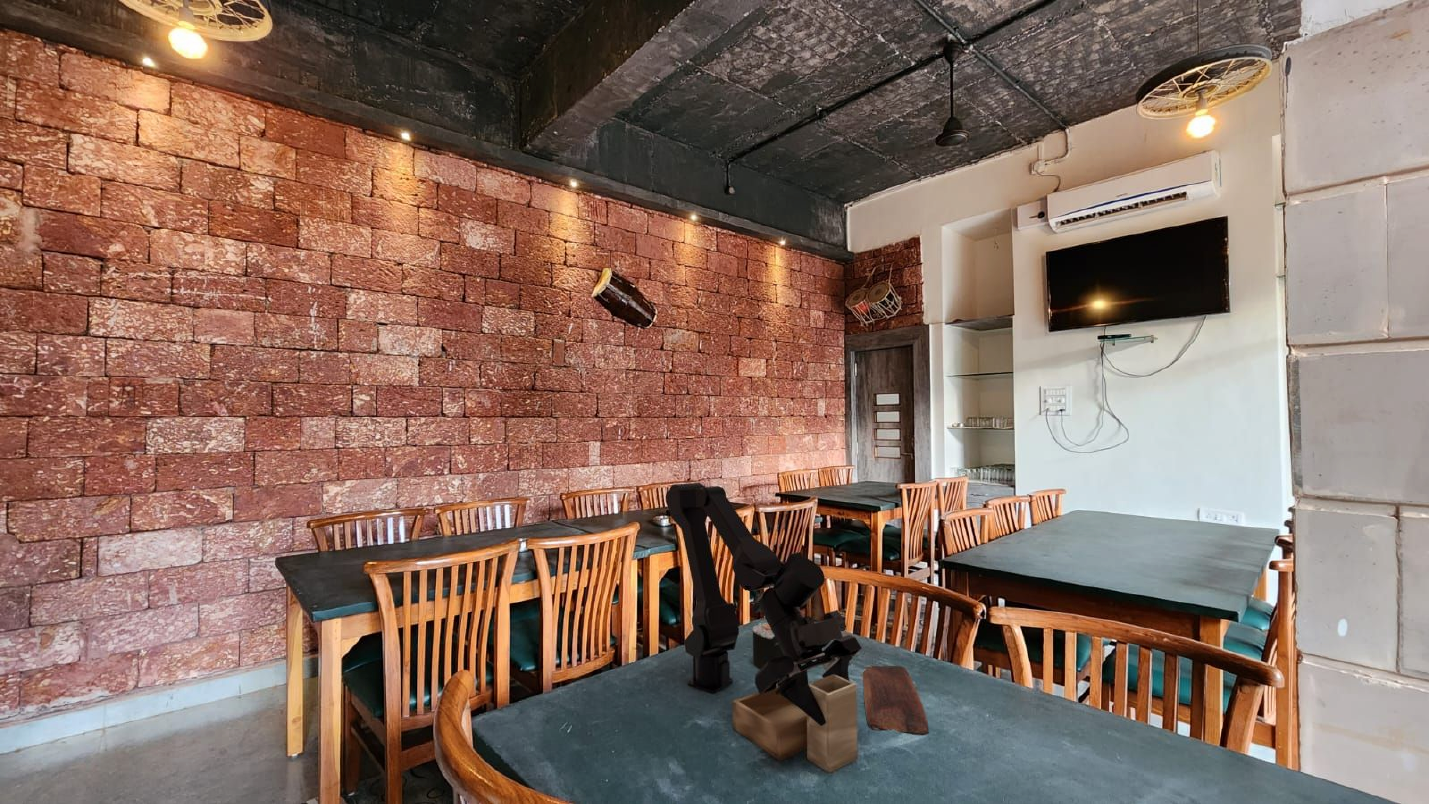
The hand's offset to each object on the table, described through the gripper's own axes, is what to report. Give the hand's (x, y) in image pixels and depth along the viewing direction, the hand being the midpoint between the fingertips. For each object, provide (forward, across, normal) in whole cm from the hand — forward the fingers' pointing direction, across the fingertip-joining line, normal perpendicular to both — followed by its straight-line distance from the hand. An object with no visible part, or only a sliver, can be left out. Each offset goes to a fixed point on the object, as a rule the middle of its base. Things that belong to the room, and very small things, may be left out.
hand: (838, 717), depth 87 cm
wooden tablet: (-1, +24, +12) cm, 27 cm away
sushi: (-18, +16, +28) cm, 37 cm away
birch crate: (+4, 0, +6) cm, 7 cm away
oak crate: (-3, 0, +13) cm, 13 cm away
